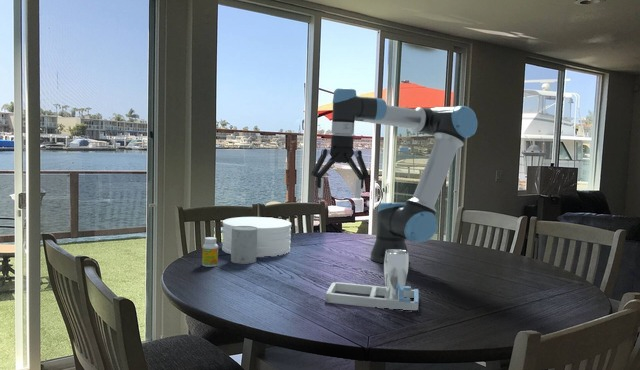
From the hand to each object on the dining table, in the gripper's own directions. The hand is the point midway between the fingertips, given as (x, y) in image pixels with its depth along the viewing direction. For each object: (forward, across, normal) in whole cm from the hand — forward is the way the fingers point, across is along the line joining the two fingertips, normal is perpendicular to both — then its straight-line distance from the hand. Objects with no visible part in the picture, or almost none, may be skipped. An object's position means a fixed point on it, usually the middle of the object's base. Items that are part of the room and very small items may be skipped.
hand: (339, 198), depth 173 cm
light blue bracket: (+27, +10, -33) cm, 44 cm away
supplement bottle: (+27, -40, +20) cm, 52 cm away
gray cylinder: (+27, -27, +25) cm, 46 cm away
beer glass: (+27, +6, -31) cm, 42 cm away
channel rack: (+27, +1, -28) cm, 39 cm away
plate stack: (+27, -18, +44) cm, 55 cm away
